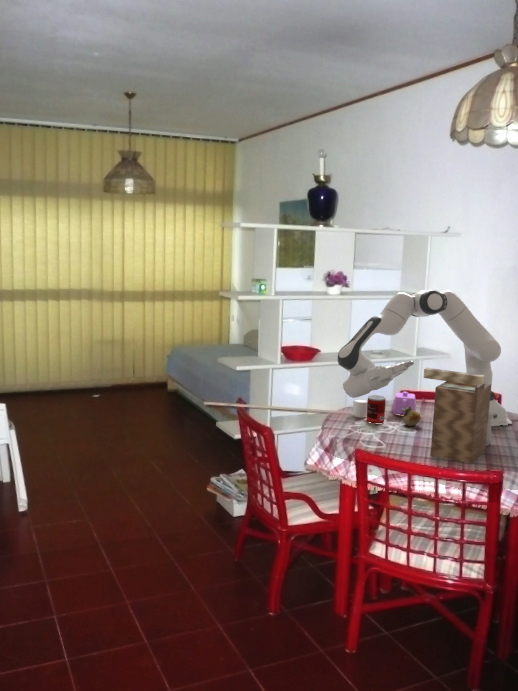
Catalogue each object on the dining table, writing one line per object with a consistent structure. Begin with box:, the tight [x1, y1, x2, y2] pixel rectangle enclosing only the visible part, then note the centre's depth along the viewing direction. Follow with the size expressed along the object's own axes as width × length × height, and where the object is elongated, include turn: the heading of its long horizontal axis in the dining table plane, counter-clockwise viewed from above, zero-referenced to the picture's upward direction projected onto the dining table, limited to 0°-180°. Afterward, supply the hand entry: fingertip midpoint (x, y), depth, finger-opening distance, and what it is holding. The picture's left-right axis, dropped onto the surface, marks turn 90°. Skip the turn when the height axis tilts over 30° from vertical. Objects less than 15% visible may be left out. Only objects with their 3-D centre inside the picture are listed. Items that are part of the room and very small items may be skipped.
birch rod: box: [423, 367, 485, 386], centre depth 257 cm, size 22×4×4 cm, turn 58°
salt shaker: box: [486, 412, 493, 447], centre depth 265 cm, size 6×6×13 cm
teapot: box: [392, 391, 417, 415], centre depth 309 cm, size 18×10×10 cm, turn 167°
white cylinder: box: [352, 398, 368, 418], centre depth 302 cm, size 7×7×7 cm
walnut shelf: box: [430, 381, 492, 465], centre depth 252 cm, size 15×20×28 cm
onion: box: [401, 407, 422, 427], centre depth 289 cm, size 8×8×8 cm
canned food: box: [366, 394, 387, 424], centre depth 292 cm, size 8×8×11 cm
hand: (408, 364), depth 265 cm, fingers open, 8 cm apart
